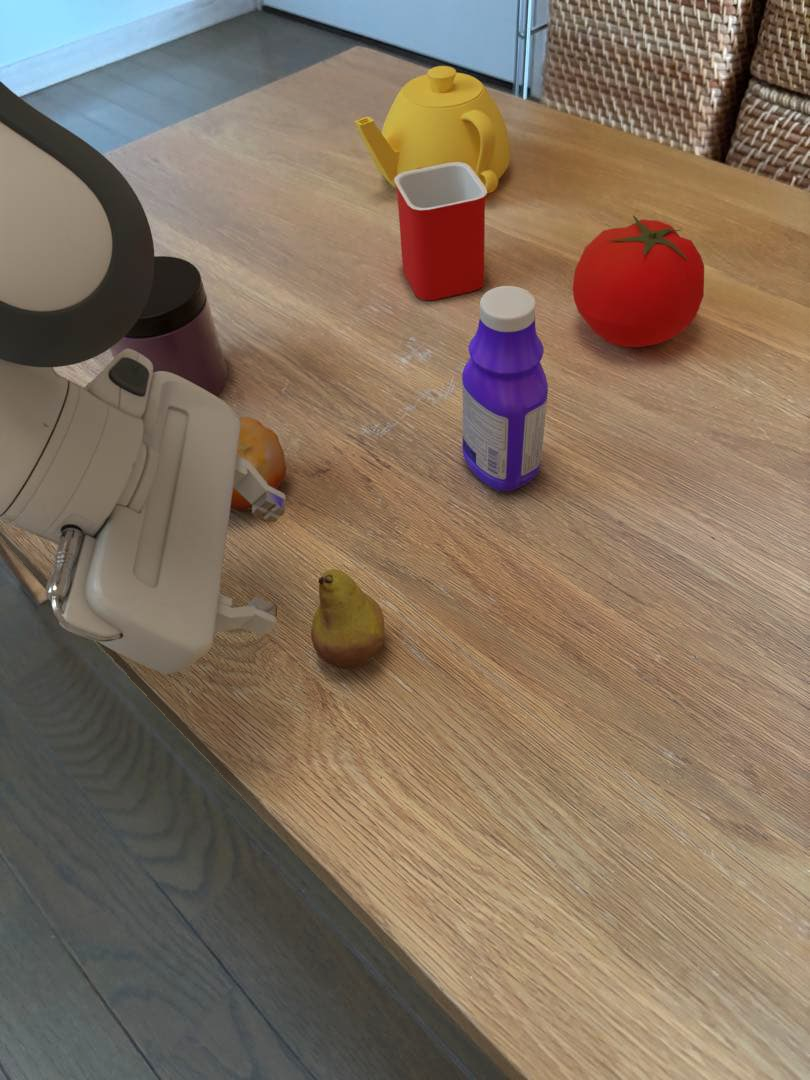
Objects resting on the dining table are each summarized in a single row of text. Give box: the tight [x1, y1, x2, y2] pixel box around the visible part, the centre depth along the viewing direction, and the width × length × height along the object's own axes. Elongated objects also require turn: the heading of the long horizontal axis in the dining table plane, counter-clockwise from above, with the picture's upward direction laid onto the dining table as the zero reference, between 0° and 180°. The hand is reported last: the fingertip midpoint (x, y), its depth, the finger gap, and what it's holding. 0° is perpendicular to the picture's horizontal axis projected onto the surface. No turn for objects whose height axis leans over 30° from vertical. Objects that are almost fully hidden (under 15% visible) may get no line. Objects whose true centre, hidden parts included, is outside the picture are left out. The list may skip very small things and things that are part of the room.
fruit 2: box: [310, 568, 385, 670], centre depth 60 cm, size 6×6×12 cm
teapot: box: [354, 65, 511, 194], centre depth 104 cm, size 20×19×13 cm
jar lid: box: [125, 255, 206, 337], centre depth 79 cm, size 10×10×2 cm
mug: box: [394, 162, 488, 302], centre depth 93 cm, size 12×8×11 cm
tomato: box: [572, 215, 705, 348], centre depth 84 cm, size 13×12×11 cm
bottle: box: [461, 285, 549, 493], centre depth 69 cm, size 7×6×17 cm
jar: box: [109, 292, 229, 397], centre depth 83 cm, size 10×10×10 cm
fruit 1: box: [230, 416, 287, 512], centre depth 74 cm, size 8×8×8 cm
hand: (276, 562), depth 58 cm, fingers open, 8 cm apart
